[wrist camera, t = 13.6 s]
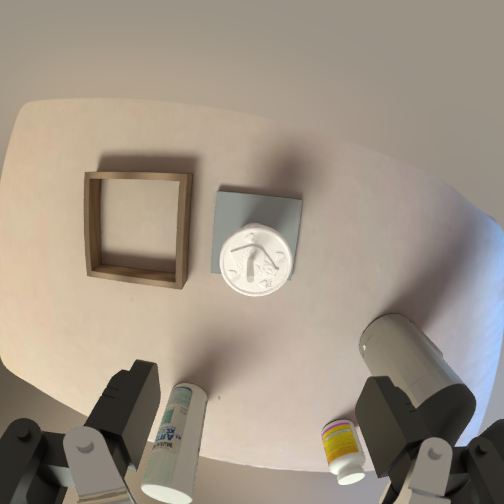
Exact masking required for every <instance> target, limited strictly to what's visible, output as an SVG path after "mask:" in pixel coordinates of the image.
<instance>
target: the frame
mask: <svg viewBox="0 0 504 504" xmlns="http://www.w3.org/2000/svg"><path fill="white" fill-rule="evenodd" d="M192 178H193V174H182V173H159V172H85V178H84V238H85V256H86V268H87V276H90V277H96V278H103V279H109V280H116V281H122V282H129V283H136V284H143V285H150V286H158V287H165V288H173V289H181V290H182V288H183V287H184V285H185V283H186V281H187V264H188V239H189V220H190V205H191V191H192ZM101 179H146V180H170V181H180V185H179V199H178V217H177V239H176V273H167V272H159V271H151V270H143V269H135V268H127V267H119V266H112V265H105V264H102V263H101V243H100V187H101Z"/></svg>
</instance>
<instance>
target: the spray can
mask: <svg viewBox="0 0 504 504" xmlns="http://www.w3.org/2000/svg"><path fill="white" fill-rule="evenodd" d="M207 401H208V399H207V394H206V393H205V391H204V390H203V389H202V388H200V387H199V386H197V385H194V384H190V383H181V384H178V385H176V386H175V387H174V388H173V389H172V391H171V394H170V397H169V400H168V403H167V406H166V409H165V412H164V415H163V418H162V421H161V424H160V427H159V430H158V433H157V436H156V439H155V443H154V446H153V449H152V452H151V455H150V458H149V462H148V465H147V468H146V471H145V475H144V478H143V481H142V485H141V489H142V491H143V492H144V493H146V494H147V495H149V496H150V497H152V498H154V499H157V500H160V501H163V502H166V503H171V504H188V503H190V502H192V499H193V493H194V486H195V479H196V472H197V465H198V458H199V452H200V445H201V439H202V432H203V426H204V419H205V413H206V407H207Z"/></svg>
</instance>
